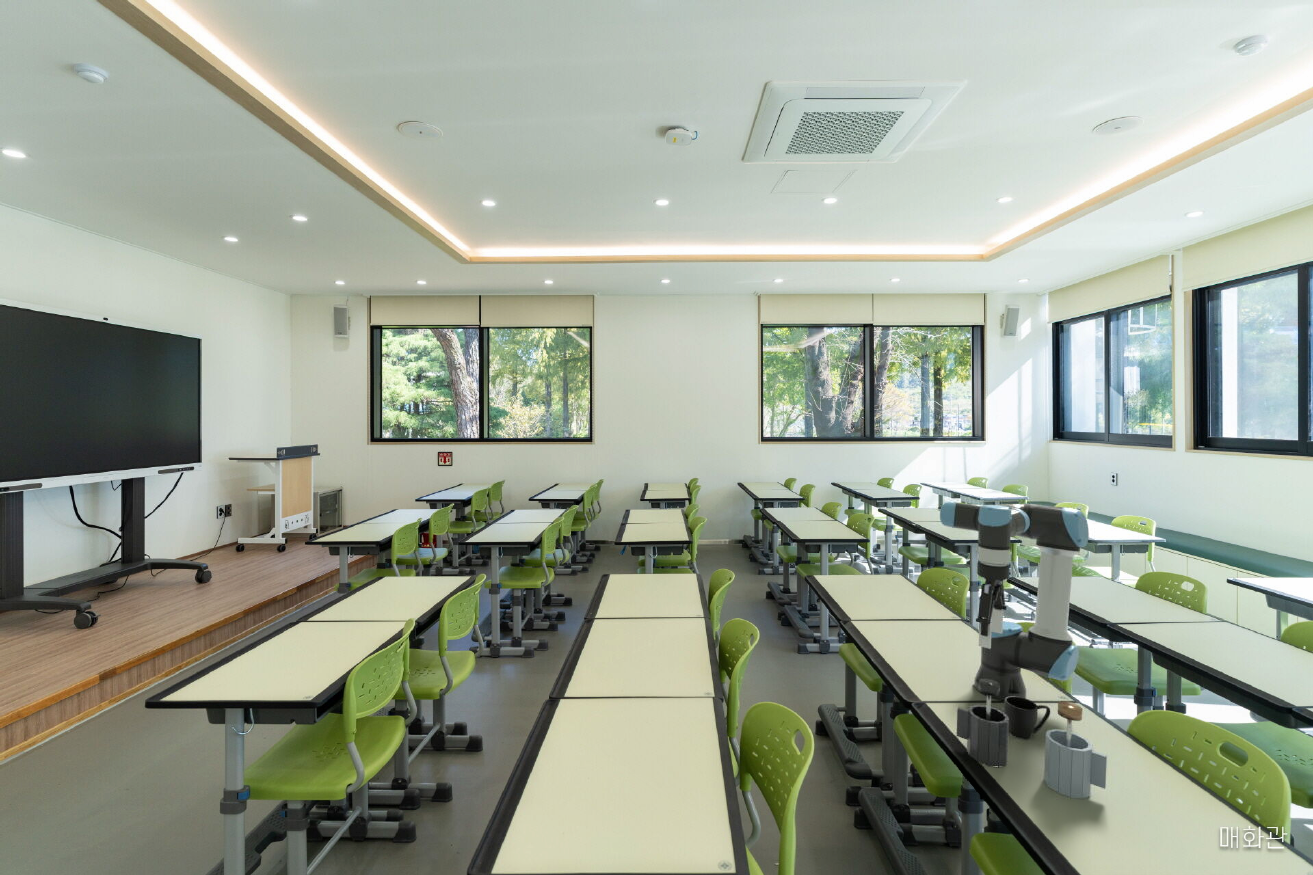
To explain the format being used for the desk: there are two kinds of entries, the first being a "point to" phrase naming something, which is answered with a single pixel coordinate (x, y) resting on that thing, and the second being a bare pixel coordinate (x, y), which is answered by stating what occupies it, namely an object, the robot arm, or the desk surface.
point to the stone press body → (1073, 765)
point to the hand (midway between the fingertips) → (990, 639)
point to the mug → (1023, 716)
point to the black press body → (984, 734)
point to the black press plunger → (989, 692)
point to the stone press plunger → (1069, 716)
